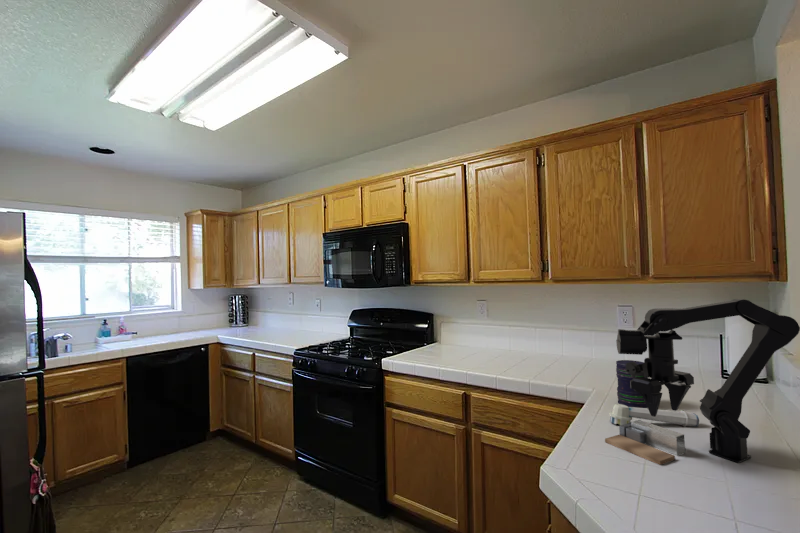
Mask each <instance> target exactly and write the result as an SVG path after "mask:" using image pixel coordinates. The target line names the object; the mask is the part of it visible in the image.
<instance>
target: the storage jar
mask: <svg viewBox="0 0 800 533" xmlns="http://www.w3.org/2000/svg"><path fill="white" fill-rule="evenodd" d="M629 362H635V363H636V364H637V365H638V364H643V363H644V361H639V360H632V359H623V360H619V359H618V360H616V362H615V364H616V368H615V372H616V374H615V375H616V377H617V387H616V390H617V392H616V395H617V404H622V405H625V406H628V407H635V408H647V409H648V407H647V405H646V402H645V400H644V398H643V396H642V395H641V394H640V393H639V392H636V391H635V390H634V389H631V386H630V381H631V380H632V379H633V378H637V377H644V375H641V376H635V377H631V374H628V373H627V372H626V363H629ZM645 378H647V377H645Z"/></svg>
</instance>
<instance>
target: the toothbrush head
mask: <svg viewBox="0 0 800 533" xmlns="http://www.w3.org/2000/svg"><path fill="white" fill-rule="evenodd" d="M608 415H609V416H610V417H609V418H610V419H609V422H610V423H611V424H614V425H617V424H618V425H619V426H620V425H624V424H628V423H631V422H632V420H633V418H635V419H639V420H647V421H655V422H660V423H661V422H662V423H666V424H667V423H668V424H673V425H680V426H683V427H686V426H687V427H698V426H699V425H700V417H699V415H698V414H696V413H693V412H688V411H684V410H680V411H678V410H677V411H674V410H668V409H667V410H666V409H658V412H657V415H656V417H654V416H651V414H650V412H649V410H648V408H635V407H628V406H625V405H622V404H618V403H615V404H614V405H613V408H612V411H609V413H608Z"/></svg>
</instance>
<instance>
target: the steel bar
mask: <svg viewBox="0 0 800 533" xmlns="http://www.w3.org/2000/svg"><path fill="white" fill-rule="evenodd" d="M630 423H631V427H632V428H635V429H638V430H641V431H644V438H645V445H648V446H651V447H653V448H656V449H658V450H661V451H664V452H666V453H669V454H672V455H674V456H675V457H676V456H677V457H679V456H681V455H683V454H685V453H686V446H685V445H686V443H685V434H684V433H681V432H678V431H675V430H672V429H668V428H666V427H662V426H660V425H656V424H652V423H650V422H646V421H643V420H642V419H638V420H633V421H630Z"/></svg>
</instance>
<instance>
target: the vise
mask: <svg viewBox="0 0 800 533" xmlns="http://www.w3.org/2000/svg"><path fill="white" fill-rule="evenodd" d="M618 429H619V435H622V436H624V437H627V438H630V439H632V440H635V441H637V442H640V443H643V444H645V438H644V431H641V430H638V429H635V428H632V427H631V422H630V423H628V424H624V425H620V424H619V426H618ZM645 445H646V444H645Z"/></svg>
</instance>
